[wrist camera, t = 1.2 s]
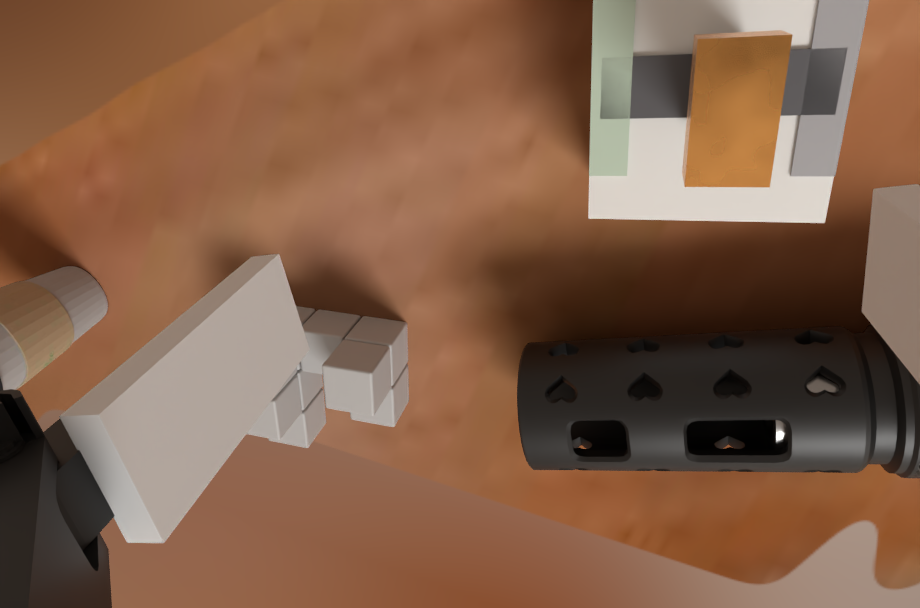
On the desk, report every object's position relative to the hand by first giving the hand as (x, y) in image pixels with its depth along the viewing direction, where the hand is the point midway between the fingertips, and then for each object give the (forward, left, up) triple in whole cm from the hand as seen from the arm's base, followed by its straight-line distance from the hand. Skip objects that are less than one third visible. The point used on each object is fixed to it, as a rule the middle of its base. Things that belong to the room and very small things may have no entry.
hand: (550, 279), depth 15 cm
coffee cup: (+48, +17, -30) cm, 59 cm away
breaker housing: (-5, -1, -30) cm, 30 cm away
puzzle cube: (+22, +23, -30) cm, 44 cm away
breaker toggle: (-5, -1, -21) cm, 22 cm away
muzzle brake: (-9, +19, -30) cm, 37 cm away
